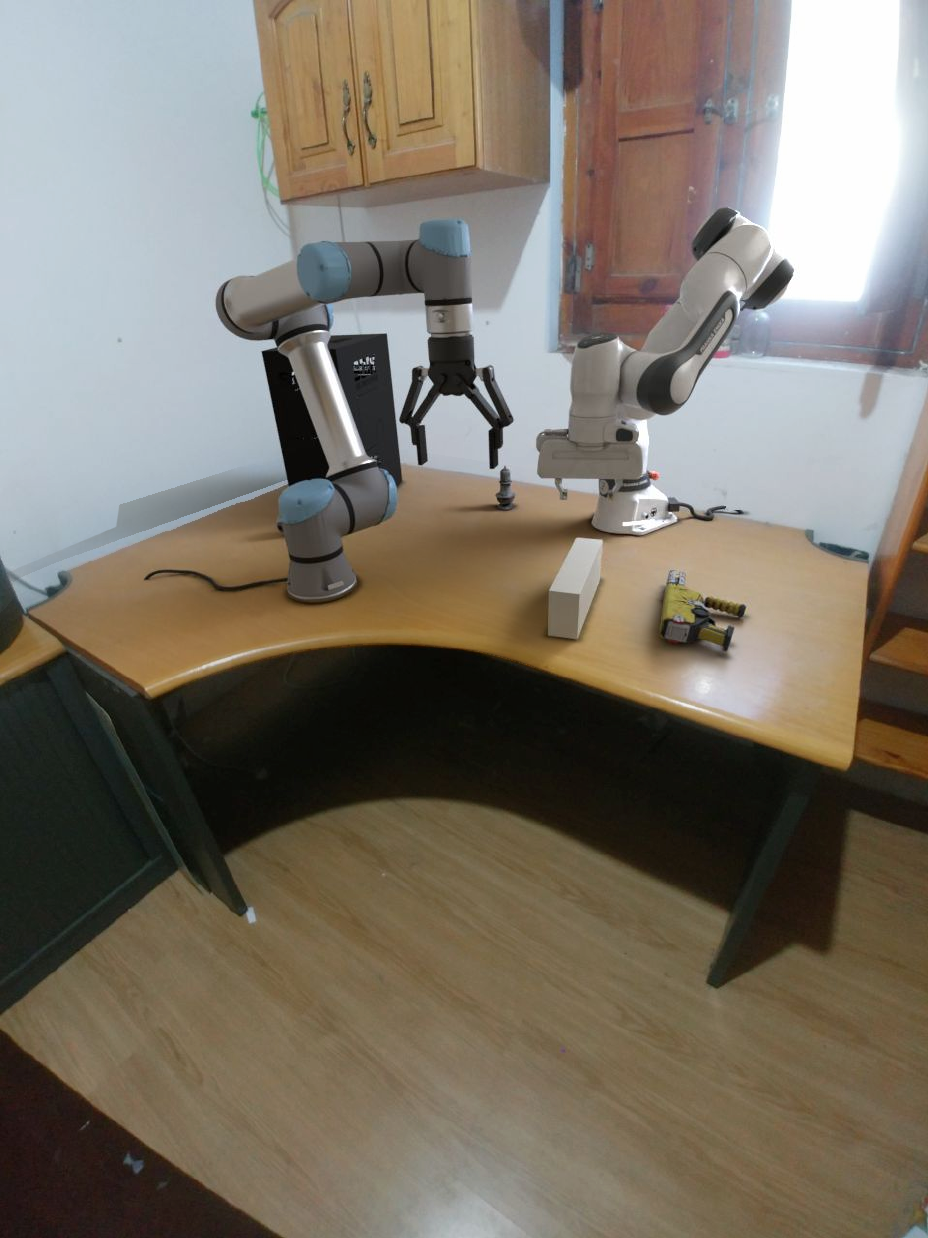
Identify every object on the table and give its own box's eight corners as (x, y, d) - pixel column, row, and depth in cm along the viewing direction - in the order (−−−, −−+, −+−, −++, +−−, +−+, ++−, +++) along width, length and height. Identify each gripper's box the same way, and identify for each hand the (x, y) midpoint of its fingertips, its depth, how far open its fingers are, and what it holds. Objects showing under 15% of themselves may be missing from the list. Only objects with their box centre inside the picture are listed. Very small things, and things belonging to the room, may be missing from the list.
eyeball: (273, 537, 164) (268, 516, 161) (287, 528, 169) (282, 508, 166) (291, 539, 161) (286, 518, 158) (305, 530, 166) (301, 510, 163)
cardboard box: (360, 522, 170) (335, 348, 148) (295, 519, 175) (261, 351, 152) (402, 481, 202) (386, 333, 179) (346, 480, 206) (324, 335, 184)
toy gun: (745, 580, 121) (669, 567, 125) (754, 637, 101) (663, 618, 105) (739, 601, 124) (664, 587, 127) (746, 660, 103) (657, 641, 107)
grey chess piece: (514, 510, 172) (514, 468, 166) (494, 509, 173) (493, 468, 167) (517, 503, 177) (516, 462, 171) (497, 502, 178) (496, 462, 172)
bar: (574, 577, 134) (576, 537, 129) (599, 580, 132) (602, 539, 127) (547, 635, 113) (548, 590, 108) (577, 639, 111) (579, 594, 107)
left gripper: (370, 338, 98) (385, 467, 109) (518, 335, 90) (519, 474, 101) (391, 333, 104) (403, 456, 115) (531, 330, 96) (530, 462, 107)
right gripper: (535, 432, 113) (534, 503, 120) (648, 432, 110) (640, 505, 117) (537, 425, 118) (536, 493, 125) (645, 425, 115) (637, 495, 122)
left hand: (457, 465), depth 108 cm, fingers open, 13 cm apart
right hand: (587, 499), depth 121 cm, fingers open, 8 cm apart
